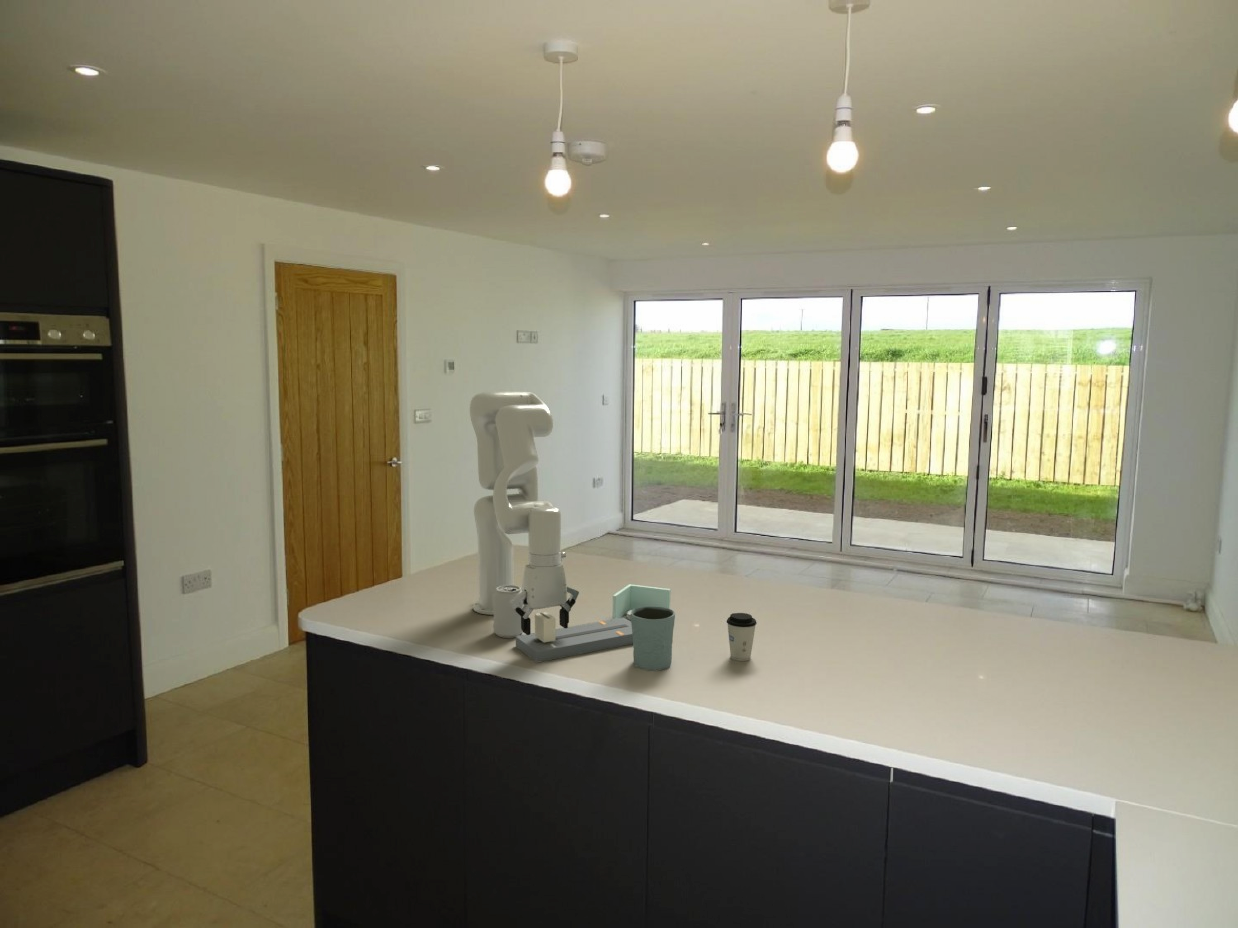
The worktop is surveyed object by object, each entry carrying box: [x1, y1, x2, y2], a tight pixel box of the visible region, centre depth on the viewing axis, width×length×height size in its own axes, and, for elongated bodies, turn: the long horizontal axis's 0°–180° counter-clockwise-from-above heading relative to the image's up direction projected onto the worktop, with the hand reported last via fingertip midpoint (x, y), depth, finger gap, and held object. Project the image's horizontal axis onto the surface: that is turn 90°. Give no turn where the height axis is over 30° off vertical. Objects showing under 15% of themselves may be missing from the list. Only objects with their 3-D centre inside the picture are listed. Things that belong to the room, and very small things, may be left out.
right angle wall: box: [612, 583, 672, 621], centre depth 220 cm, size 12×12×8 cm
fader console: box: [515, 616, 633, 663], centre depth 200 cm, size 12×30×3 cm, turn 120°
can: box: [493, 584, 524, 639], centre depth 206 cm, size 8×8×12 cm
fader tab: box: [534, 611, 556, 642], centre depth 194 cm, size 5×3×6 cm, turn 30°
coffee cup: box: [726, 612, 758, 662], centre depth 191 cm, size 7×7×10 cm
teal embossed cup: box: [630, 606, 676, 671], centre depth 187 cm, size 10×10×12 cm
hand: (545, 629), depth 194 cm, fingers open, 9 cm apart
